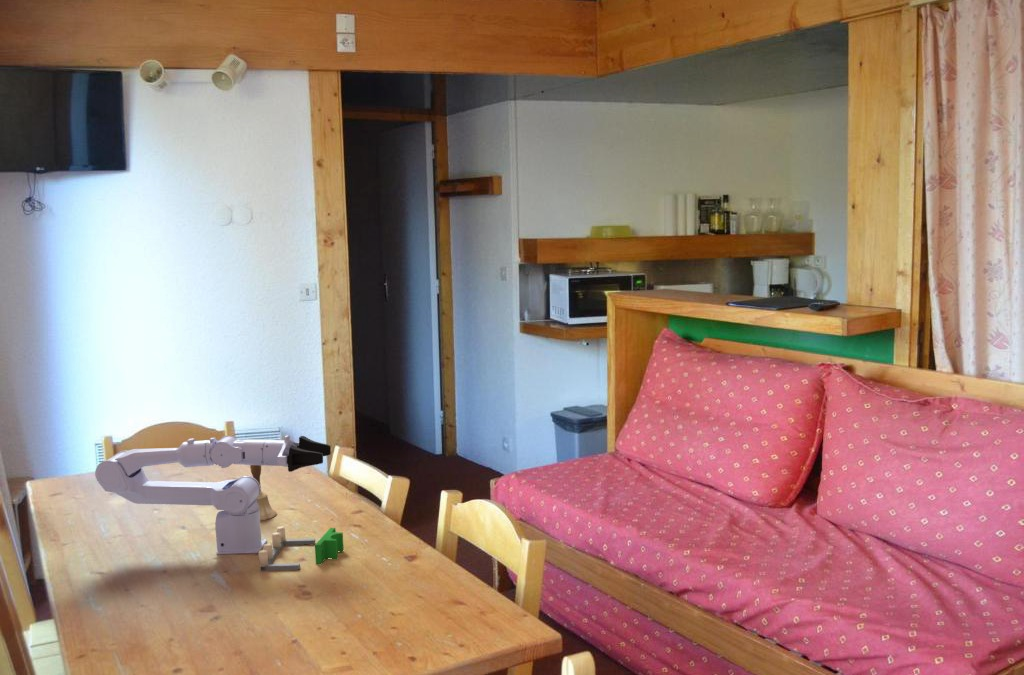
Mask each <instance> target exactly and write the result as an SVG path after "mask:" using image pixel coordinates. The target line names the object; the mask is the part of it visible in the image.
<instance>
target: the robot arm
mask: <svg viewBox="0 0 1024 675" xmlns="http://www.w3.org/2000/svg"><path fill="white" fill-rule="evenodd" d="M331 447H332V446H331V445H330V444H328V443H327V444H326V443H324V442H319V441H315V440H313V439H310V438H308V437H307V436H304V435H300V436H299V438H298V441H293V440H291V437H290V435H289V434H286V435H285V436H284V439H247V438H246V439H238V438H236V437H235V436H233V435H232V436H231V435H224V436H222V437H220V439H217V437H210V438H209V439H205V440H203V439H202V440H196V439H195V438H193V437H192V438H188V439H187V440H186V441H184V442H182V443H181V444H180V445H179V447H161V448H159V447H158V448H132V449H129V450H120V451H118V452H116V453H115V454H114V455H113V456H111V457H110V458H108V459H106V460H103V461H102V462H100V463H99V464H98V465H97V466H96V468H95V473H94V476H95V479H96V481H97V483H98V485H100V486H101V488H102V489H103V490H104V491H105V492H107V493H112V494H113V493H115V494H116V495H118V496H120V497H122V498H123V499H125V500H127V501H129V502H132V503H133V504H138V505H139V504H140V505H173V506H174V505H175V506H176V505H177V506H181V505H183V506H213V507H214V509H216V510H219V511H218V512H217V514H216V517H215V522H214V524H215V539H216V555H233V554H234V555H235V554H237V555H238V554H240V555H241V554H257V553H258V552H259V551H262V548H264V545H265V544H267V543H268V539H267V538H262V533H261V532H262V531H261V521H260V515H259V505H258V503H257V500H256V499H257V498H258V497H259V495H260V492H262V487H260V484H261V483H260V484H259V482H258V481H257V480H256V479H255V478H253V476H249V475H244V476H243V475H242V476H240V477H238V478H235V479H226V480H222V481H218V482H217V481H216V482H215V481H213V482H211V481H210V482H208V481H175V480H174V481H170V480H169V481H167V480H165V481H164V480H149V479H148V478H147V476H146V474H145V471H144V470H143V467H150V466H159V465H167V464H168V465H169V464H175V463H178V464H180V465H181V466H182V467H184V468H194V467H195V468H196V467H205V466H206V467H210V466H214V465H217V466H218V467H221V469H226V468H229V467H230V466H231V465H245V466H250V465H261V466H267V467H269V466H270V467H274V466H275V467H283V468H287V470H288V472H289V473H292V472H294V471H296V470H299V469H301V468H305V467H310V466H311V467H312V466H316V465H321V464H323V463H324V457H327V456H331V453H332V451H331ZM258 554H259V553H258Z"/></svg>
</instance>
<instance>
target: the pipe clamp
mask: <svg viewBox="0 0 1024 675" xmlns="http://www.w3.org/2000/svg"><path fill="white" fill-rule="evenodd" d="M343 550H344V536H343V532H339V531H338V532H336V527H330V528H329V529H328V530H326V532H325V533H324V534H323V536H321V537H320V539H318V541H316V543H315V544H314V553H315V554H314V557H315V565H319V564H321V563H322V562H323V560H324V559H325V560H329V559H328V558H332V559H337V558H339V556H338V553H337V552H338V551H343ZM344 551H345V550H344ZM344 551H343V552H344ZM325 560H324V561H325ZM337 560H338V559H337ZM323 563H324V562H323ZM323 563H322V564H323ZM322 564H321V565H322Z"/></svg>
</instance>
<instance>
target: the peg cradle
mask: <svg viewBox="0 0 1024 675" xmlns="http://www.w3.org/2000/svg"><path fill="white" fill-rule="evenodd" d="M271 537H272V538H271V539H272V543H269V542H268V543H265V544H264V546H263V550H262V549H261V550H260V551H259V552H258V564H259V567H260V568H259V569H260V572H266V571H267V572H268V571H269V572H270V571H271V572H273V570H275V571H298V570H297V569H299V570H301V563H300V562H297V563H296V562H295V563H291V562H290V563H273V562H274V560H275V559H276V558H277V556H278V555H279V553H280V551H281V550H282V549H283V548H284V547H285V546H305V545H304V544H314V545H315V544H316V543H315V542H316V538H293V539H288V538H287V539H286V527H285V526H282V525H281V526H277V527H276V532H273V533H271ZM277 554H278V555H277Z"/></svg>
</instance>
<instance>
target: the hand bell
mask: <svg viewBox="0 0 1024 675" xmlns="http://www.w3.org/2000/svg"><path fill="white" fill-rule="evenodd" d="M249 466H250V468H249V469H250V472H251V475H252V476H251V477H253V478H255V479H256V480H257V481H258V482H259V484H260V487H261V474H262V465H249ZM261 488H262V487H261ZM256 500H257V503H258V505H259V515H260V522H261V521H265V520H269V519H272V518H274V517H276V516H277V515H278V514H277V511H276V509H274V508H273V507H272V506H271V504H270V500H269V497H268V494H267V493H265V492H263V491H261V492H260V495H259V497H258V498H257V499H256Z"/></svg>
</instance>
